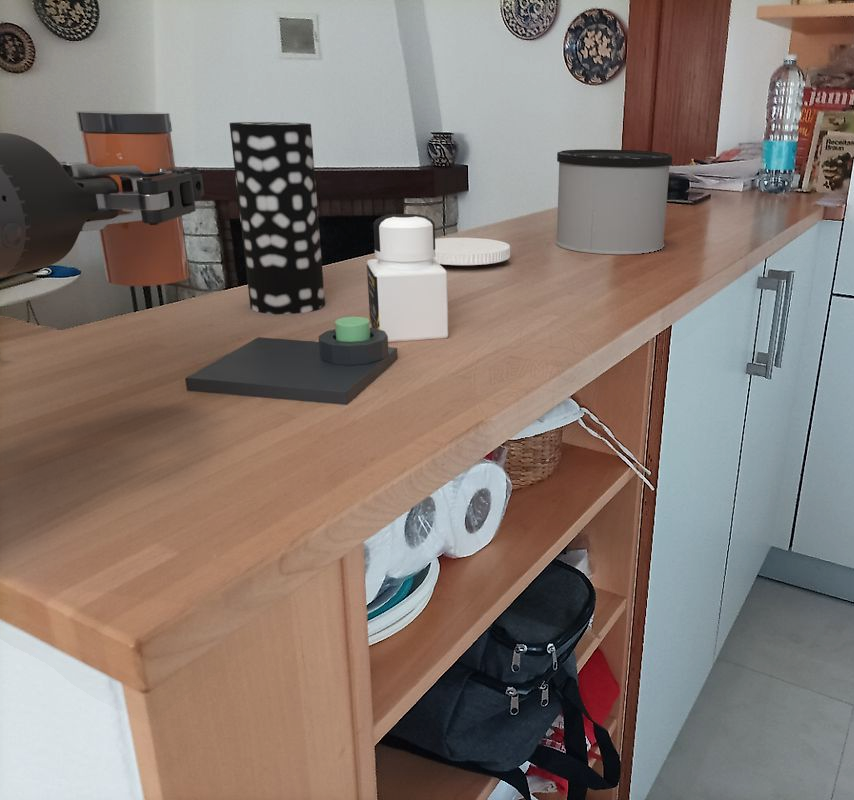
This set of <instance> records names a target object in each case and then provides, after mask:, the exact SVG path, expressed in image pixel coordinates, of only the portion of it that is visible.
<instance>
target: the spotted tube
mask: <svg viewBox="0 0 854 800" xmlns="http://www.w3.org/2000/svg"><path fill="white" fill-rule="evenodd" d="M229 133H230V140H231V149H232V158H233V166H234V175H235V183H236V193H237V200H238V201H237V203H238V212H239V219H240V228H241V237H242V246H243V253H244V254H243V256H244V264H245V271H246V272H245V273H246V280H247V289H248V298H249V306H250V310H252V311H254V312H257V313H259V314H267V315H295V314H304V313H308V312H314V311H317V310H319V309H321V308H323V307H324V306H325V305H326V301H325V300H326V299H325V298H326V297H325V286H324V285H325V284H324V274H323V273H324V272H323V261H322V260H323V259H322V249H321V235H320V223H319V222H320V221H319V211H318V196H317V185H316V172H315V160H314V147H313V146H314V145H313V133H312V124H311V123H307V122H306V123H305V122H280V121H279V122H278V121H248V122H246V121H242V122H241V121H240V122H229Z"/></svg>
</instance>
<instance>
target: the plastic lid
mask: <svg viewBox="0 0 854 800" xmlns="http://www.w3.org/2000/svg"><path fill="white" fill-rule="evenodd" d="M510 258H511V245H510V244H509V243H507V242H505V241H501V240H497V239H490V238H482V237H481V238H479V237H445V238H444V237H442V238H435V257H434V259H435V260H436V261H437V262H438V263H439V264H440V265H446V266H447V265H448V266H449V265H450V266H478V265H480V266H481V265H482V266H483V265H490V264H497V263H501V262H505V261H507V260H509V259H510Z"/></svg>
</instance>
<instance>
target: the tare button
mask: <svg viewBox="0 0 854 800" xmlns="http://www.w3.org/2000/svg"><path fill="white" fill-rule="evenodd" d="M370 328H371V324H370V318H367V317H364V316H363V317H362V316H345V317H341V318H338V319H336V320H335V321H334V329H335V330H336V340H338V341H346V342H354V341H364V340H368V339H370Z"/></svg>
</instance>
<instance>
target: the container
mask: <svg viewBox="0 0 854 800" xmlns="http://www.w3.org/2000/svg"><path fill="white" fill-rule="evenodd" d="M556 153H557V154H556V162H557V163H558V185H557V186H558V187H557V188H558V189H557V190H558V191H557V222H556V224H557V226H556V239H555V244H556V245H557V247H560V248H562V249H565V250H569V251H574V252H579V253H585V254H586V253H587V254H595V255H596V254H597V255H617V256H619V255H621V256H624V255H625V256H626V255H627V256H628V255H642V253H644V254H650V253H649V252H651V253H655V252H654V251H656V252H658V251H657V250H659V251H661V250H660V249H662V248H663V247H664V248H665V240H664V239H665V231H666V230H665V229H666V217H667V216H666V215H667V204H668V203H667V202H668V191H669V190H668V188H669V180H670V178H669V177H670V167H671V165H673V157H674V155H672V154H670V153H667V152H658V151H648V150H633V149H632V150H631V149H601V148H599V149H597V148H596V149H594V148H592V149H566V150H560V151H557V152H556ZM664 248H663V249H664ZM663 249H662V250H663Z"/></svg>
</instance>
